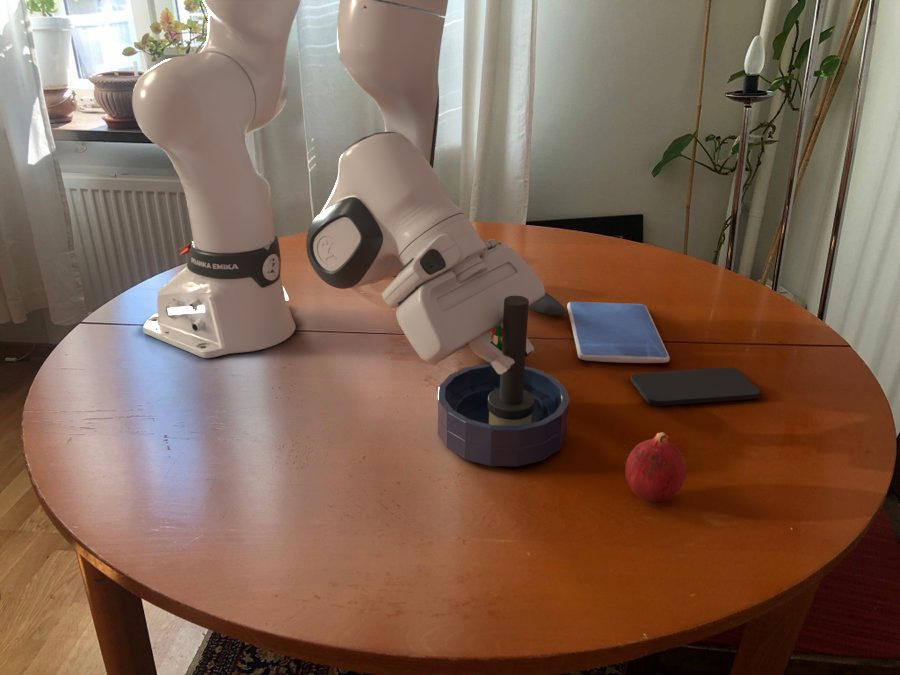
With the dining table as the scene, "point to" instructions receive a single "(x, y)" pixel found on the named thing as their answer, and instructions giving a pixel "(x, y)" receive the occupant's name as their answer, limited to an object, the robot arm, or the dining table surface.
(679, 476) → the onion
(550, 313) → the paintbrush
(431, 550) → the dining table surface
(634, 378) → the phone
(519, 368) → the dish brush
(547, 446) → the bowl
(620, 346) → the tablet
